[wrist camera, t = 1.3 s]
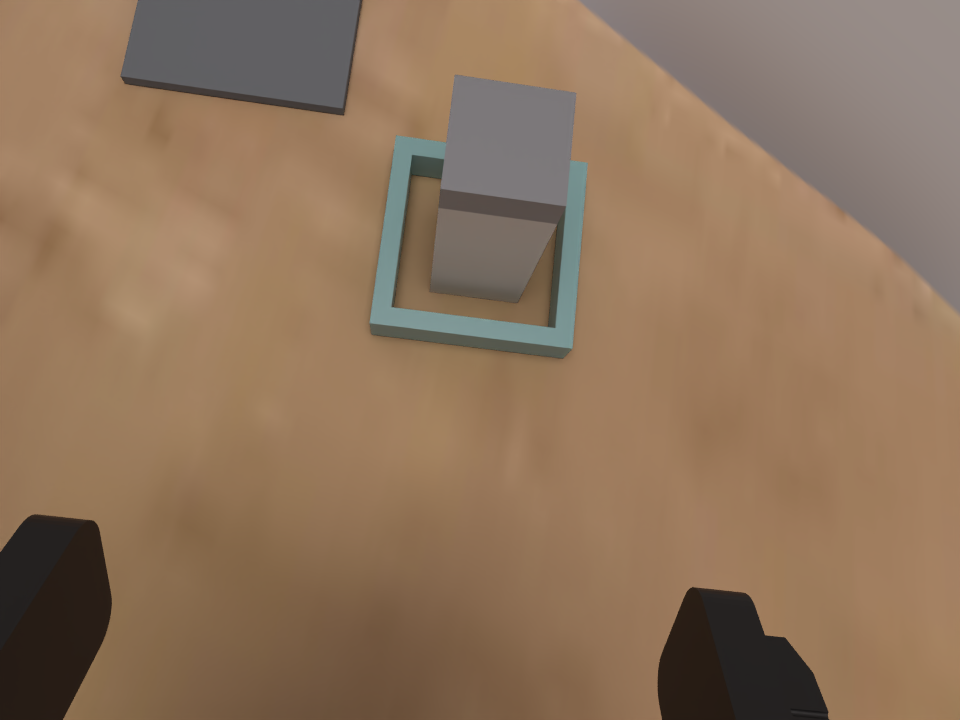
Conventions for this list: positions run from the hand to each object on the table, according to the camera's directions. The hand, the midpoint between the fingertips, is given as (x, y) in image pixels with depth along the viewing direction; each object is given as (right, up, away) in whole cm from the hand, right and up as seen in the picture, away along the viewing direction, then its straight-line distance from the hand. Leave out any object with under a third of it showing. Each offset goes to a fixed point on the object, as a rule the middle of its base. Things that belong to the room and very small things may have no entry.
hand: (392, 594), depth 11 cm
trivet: (-10, +20, +26) cm, 35 cm away
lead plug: (+1, +8, +25) cm, 26 cm away
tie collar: (+1, +8, +25) cm, 26 cm away
